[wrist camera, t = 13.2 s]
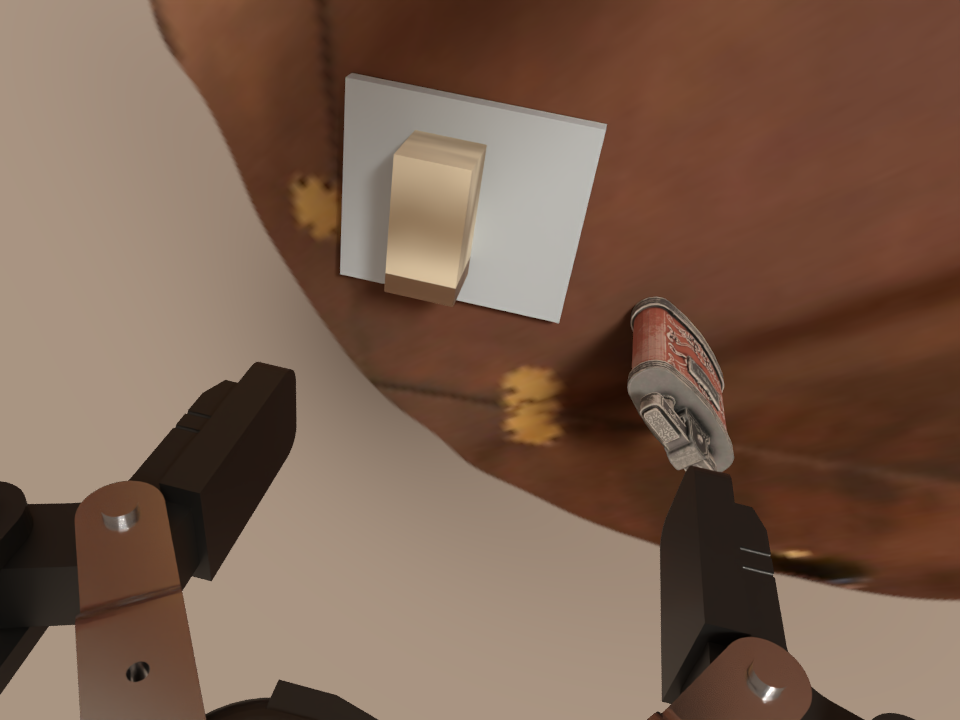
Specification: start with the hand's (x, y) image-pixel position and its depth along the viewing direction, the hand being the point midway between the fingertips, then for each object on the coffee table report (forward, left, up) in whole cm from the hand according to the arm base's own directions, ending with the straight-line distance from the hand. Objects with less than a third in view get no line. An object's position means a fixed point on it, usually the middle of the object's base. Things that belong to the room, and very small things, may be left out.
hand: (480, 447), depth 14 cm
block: (+7, +8, -27) cm, 29 cm away
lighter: (-9, +14, -28) cm, 33 cm away
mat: (+6, +8, -28) cm, 30 cm away
